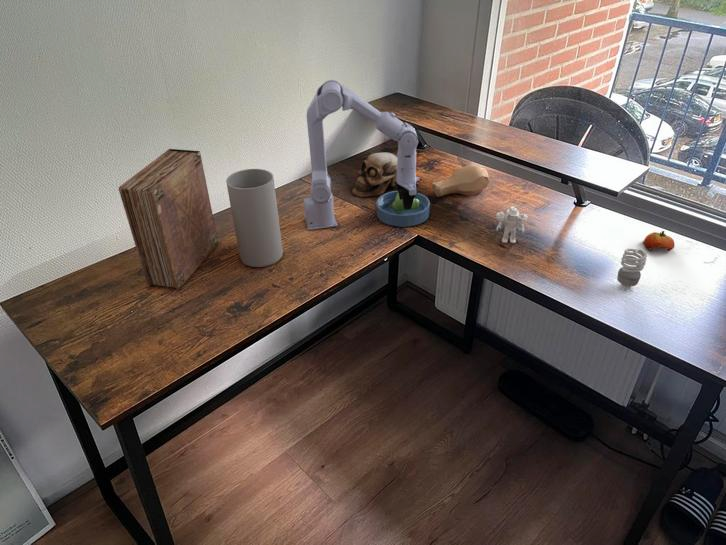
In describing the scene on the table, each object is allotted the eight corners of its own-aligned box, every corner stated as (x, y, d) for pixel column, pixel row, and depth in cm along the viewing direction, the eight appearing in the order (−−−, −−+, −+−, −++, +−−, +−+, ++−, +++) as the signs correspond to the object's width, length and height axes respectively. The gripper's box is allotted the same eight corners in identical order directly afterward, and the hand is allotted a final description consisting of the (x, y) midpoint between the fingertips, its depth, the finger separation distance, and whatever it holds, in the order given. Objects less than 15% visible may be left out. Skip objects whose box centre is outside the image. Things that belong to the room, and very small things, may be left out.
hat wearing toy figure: (523, 238, 168) (529, 203, 161) (524, 245, 165) (530, 209, 158) (493, 236, 170) (497, 201, 163) (493, 243, 166) (497, 207, 160)
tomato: (683, 246, 159) (674, 232, 156) (667, 264, 160) (657, 251, 156) (661, 237, 166) (651, 223, 162) (645, 254, 167) (635, 241, 163)
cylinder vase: (236, 250, 167) (222, 173, 152) (277, 241, 170) (267, 165, 156) (244, 272, 157) (230, 192, 143) (287, 262, 160) (278, 183, 146)
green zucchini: (390, 214, 175) (390, 204, 173) (387, 209, 178) (387, 199, 176) (420, 210, 177) (421, 200, 175) (417, 205, 180) (417, 195, 178)
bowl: (384, 231, 174) (384, 218, 171) (371, 206, 187) (370, 194, 185) (436, 223, 177) (437, 211, 174) (419, 199, 190) (420, 187, 188)
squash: (494, 194, 193) (496, 173, 186) (440, 209, 190) (440, 188, 184) (481, 177, 200) (482, 156, 194) (428, 191, 198) (428, 170, 191)
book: (177, 291, 150) (151, 191, 133) (147, 287, 152) (117, 188, 135) (218, 242, 170) (200, 150, 153) (191, 239, 172) (169, 147, 155)
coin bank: (348, 194, 194) (350, 157, 187) (367, 179, 208) (369, 144, 202) (391, 203, 189) (394, 165, 183) (406, 187, 203) (410, 151, 197)
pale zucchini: (403, 216, 181) (402, 208, 178) (392, 214, 182) (391, 207, 179) (409, 194, 187) (408, 186, 184) (398, 193, 188) (398, 185, 185)
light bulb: (631, 281, 149) (642, 243, 142) (640, 294, 144) (653, 255, 137) (610, 282, 149) (620, 244, 142) (618, 295, 144) (630, 256, 137)
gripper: (426, 174, 164) (424, 214, 172) (412, 155, 176) (411, 194, 183) (403, 177, 163) (403, 217, 170) (390, 158, 174) (390, 196, 182)
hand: (405, 205), depth 177 cm, fingers closed on green zucchini, 3 cm apart
